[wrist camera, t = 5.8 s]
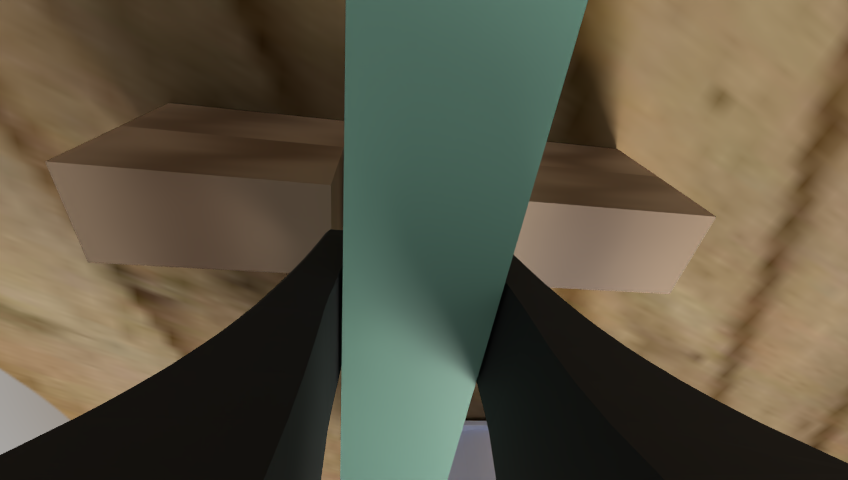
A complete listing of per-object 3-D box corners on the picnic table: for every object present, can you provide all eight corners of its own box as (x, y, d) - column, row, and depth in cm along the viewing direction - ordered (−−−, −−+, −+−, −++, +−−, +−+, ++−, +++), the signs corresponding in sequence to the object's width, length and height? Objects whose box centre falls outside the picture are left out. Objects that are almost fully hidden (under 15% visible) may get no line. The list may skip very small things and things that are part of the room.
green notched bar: (374, -81, 9) (348, -195, 4) (498, -61, 9) (628, -138, 4) (356, 343, 16) (340, 500, 11) (427, 345, 16) (441, 498, 11)
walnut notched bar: (617, 148, 16) (716, 216, 11) (592, 210, 18) (669, 293, 13) (168, 102, 14) (44, 161, 9) (185, 177, 16) (87, 262, 11)
